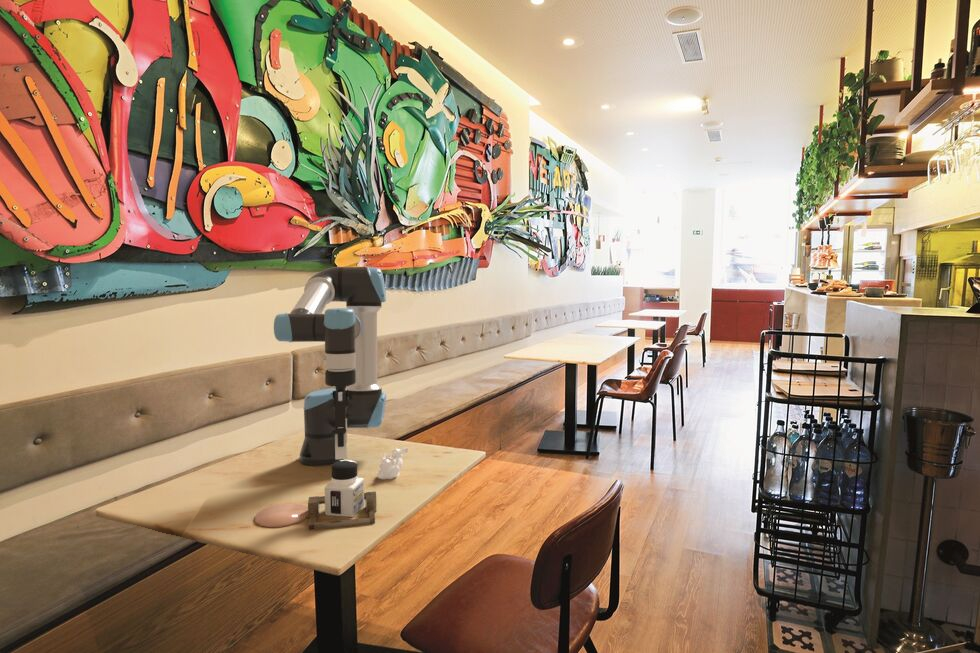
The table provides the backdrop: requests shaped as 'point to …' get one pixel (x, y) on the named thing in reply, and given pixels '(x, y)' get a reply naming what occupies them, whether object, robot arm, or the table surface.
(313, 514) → the collar
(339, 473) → the container
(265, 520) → the pink flat disc
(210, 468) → the table surface
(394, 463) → the rabbit figurine
